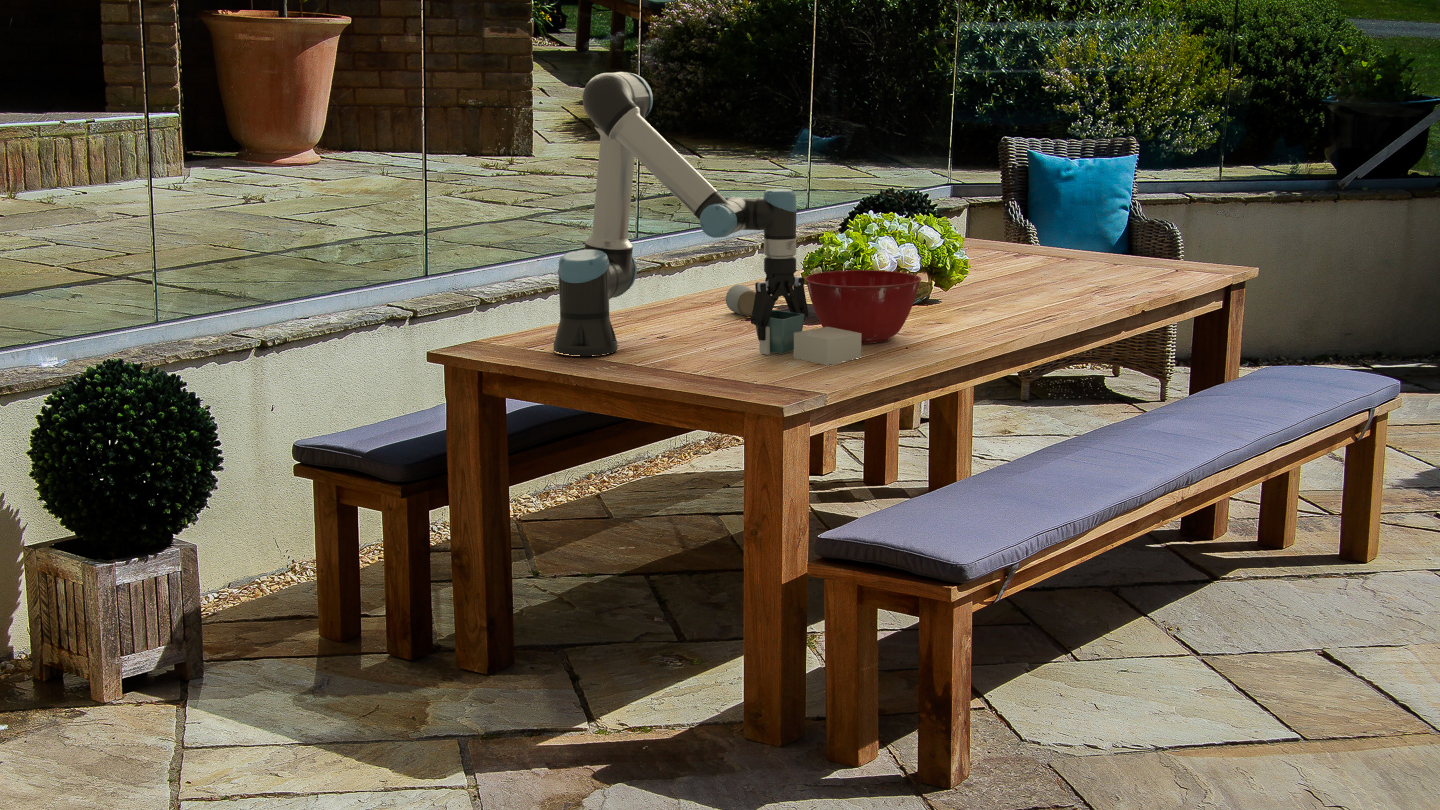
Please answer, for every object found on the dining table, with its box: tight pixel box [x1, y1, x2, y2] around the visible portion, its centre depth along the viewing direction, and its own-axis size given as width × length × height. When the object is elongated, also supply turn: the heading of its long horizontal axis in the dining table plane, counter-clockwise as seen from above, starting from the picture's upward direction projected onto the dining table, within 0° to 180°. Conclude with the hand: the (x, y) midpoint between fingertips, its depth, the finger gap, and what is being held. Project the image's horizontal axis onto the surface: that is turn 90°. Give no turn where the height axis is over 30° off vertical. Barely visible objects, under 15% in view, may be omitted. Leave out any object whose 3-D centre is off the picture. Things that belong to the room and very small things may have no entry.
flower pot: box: [755, 309, 805, 355], centre depth 341 cm, size 9×9×9 cm
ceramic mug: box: [725, 284, 756, 317], centre depth 391 cm, size 11×8×8 cm
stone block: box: [793, 327, 862, 366], centre depth 334 cm, size 11×11×6 cm
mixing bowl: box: [804, 269, 922, 344], centre depth 356 cm, size 28×28×16 cm
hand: (779, 350), depth 342 cm, fingers open, 9 cm apart
